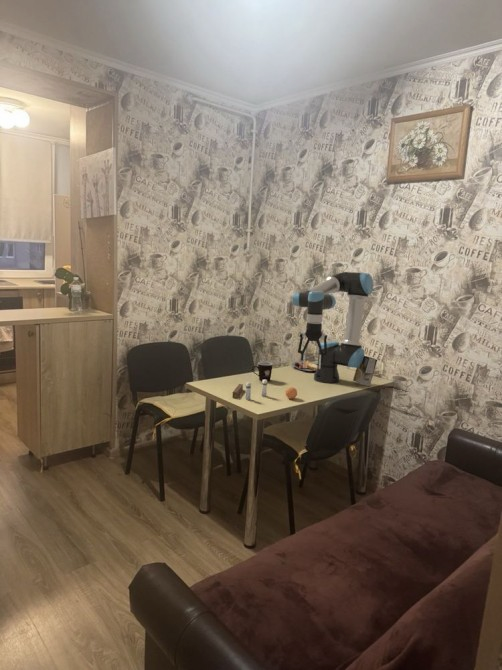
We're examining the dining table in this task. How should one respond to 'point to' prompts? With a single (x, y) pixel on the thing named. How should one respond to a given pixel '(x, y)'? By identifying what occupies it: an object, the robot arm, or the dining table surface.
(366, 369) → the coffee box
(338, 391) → the dining table surface
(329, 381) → the robot arm
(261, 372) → the coffee mug
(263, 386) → the pin
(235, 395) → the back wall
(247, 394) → the side pin
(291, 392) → the ball
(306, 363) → the food plate
